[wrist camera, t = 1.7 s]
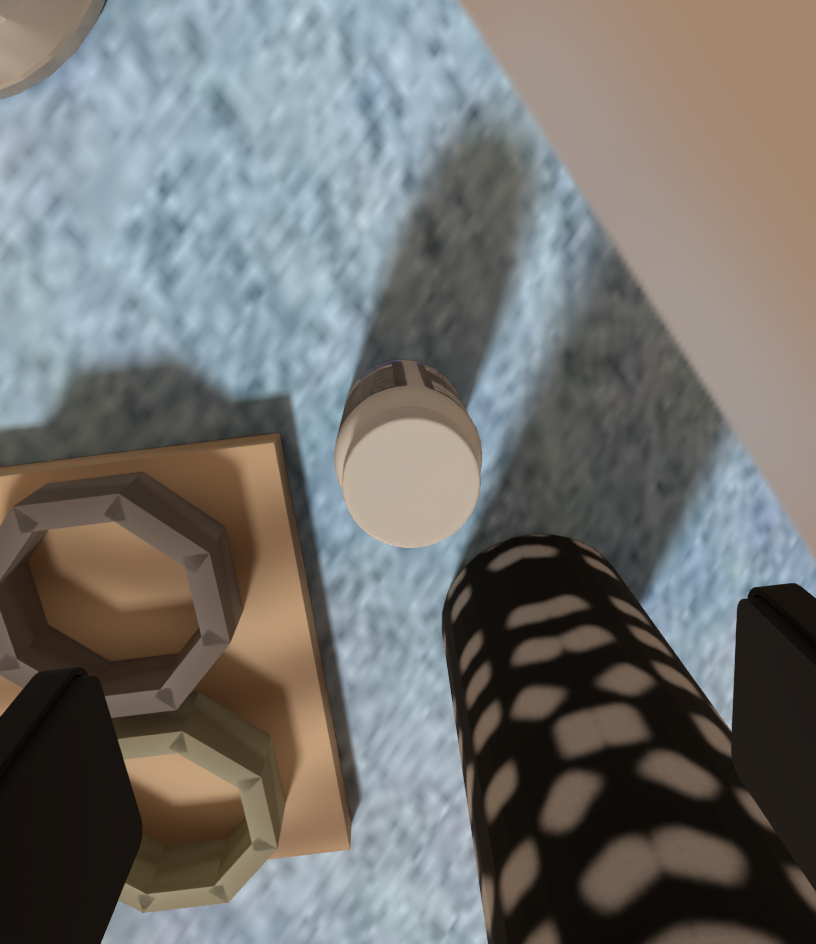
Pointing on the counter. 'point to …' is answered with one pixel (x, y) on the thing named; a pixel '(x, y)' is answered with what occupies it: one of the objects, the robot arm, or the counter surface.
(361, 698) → the counter surface
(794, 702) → the robot arm
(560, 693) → the spotted tube
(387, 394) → the pill bottle
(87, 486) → the socket board
